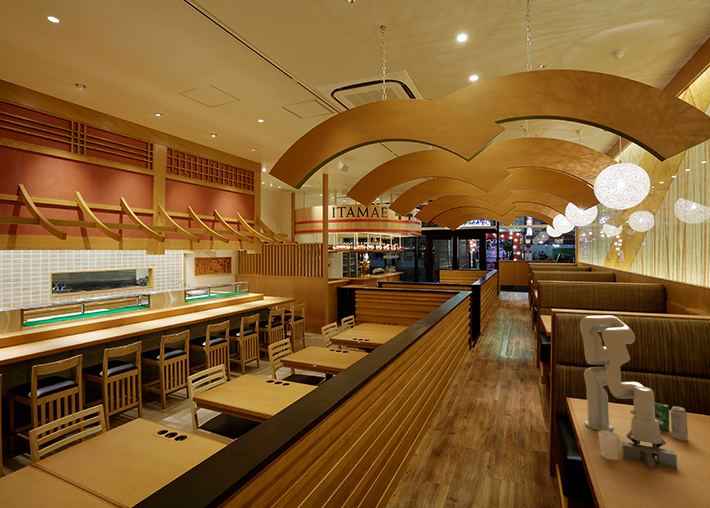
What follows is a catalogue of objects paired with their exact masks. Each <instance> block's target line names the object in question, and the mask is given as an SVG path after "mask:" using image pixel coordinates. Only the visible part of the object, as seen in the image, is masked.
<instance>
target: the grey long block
mask: <svg viewBox="0 0 710 508" xmlns="http://www.w3.org/2000/svg"><path fill="white" fill-rule="evenodd" d="M621 447H622V448H621V451H622V453H621V454H622V458H623V457H624V458H625V459H624V458H623V459H624V460H627V459H630V460H629V461H632V460H634V461H633V462H638V461H639V463H641V456H640V451H644V452H650V453H655V454H657V456H656V463H657V464H658V466H660V467H663V468H668V469H673V470H678V459H677V458H678V457H677V454H676V452H675V450H671V449H664V448H660V447H659V448H655V447H652V446H651V447H650V446H644V445H639V444H634V443H633V442H626V441H621Z"/></svg>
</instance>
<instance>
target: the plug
mask: <svg viewBox="0 0 710 508" xmlns="http://www.w3.org/2000/svg"><path fill="white" fill-rule="evenodd" d="M640 445H644V446H650V447H652V444H651V445H649V444H644V443H640ZM642 456H644V457H643V458H644V461H645V463H646V466H647V467H648V468H649V469H652V470H655V469H656V462H655V458H653V453H650V452H644V451H641V456H640V457H642Z"/></svg>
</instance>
